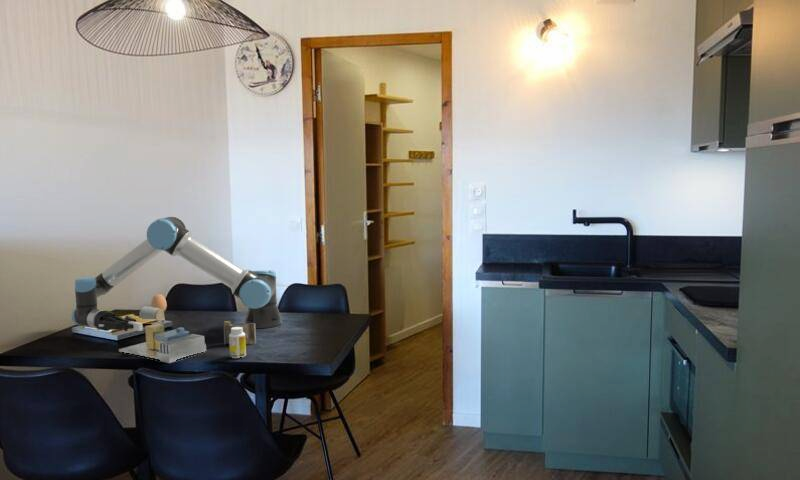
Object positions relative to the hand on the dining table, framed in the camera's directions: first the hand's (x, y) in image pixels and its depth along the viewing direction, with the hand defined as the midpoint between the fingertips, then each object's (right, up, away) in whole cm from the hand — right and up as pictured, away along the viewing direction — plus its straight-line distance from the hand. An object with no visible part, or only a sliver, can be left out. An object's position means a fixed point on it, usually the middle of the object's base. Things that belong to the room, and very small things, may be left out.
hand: (140, 327), depth 243 cm
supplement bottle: (+39, -9, -12) cm, 42 cm away
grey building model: (+10, -8, -5) cm, 14 cm away
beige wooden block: (+10, -7, -5) cm, 13 cm away
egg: (-15, -2, +60) cm, 62 cm away
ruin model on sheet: (+35, -8, +5) cm, 37 cm away
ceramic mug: (-10, -4, +40) cm, 42 cm away
